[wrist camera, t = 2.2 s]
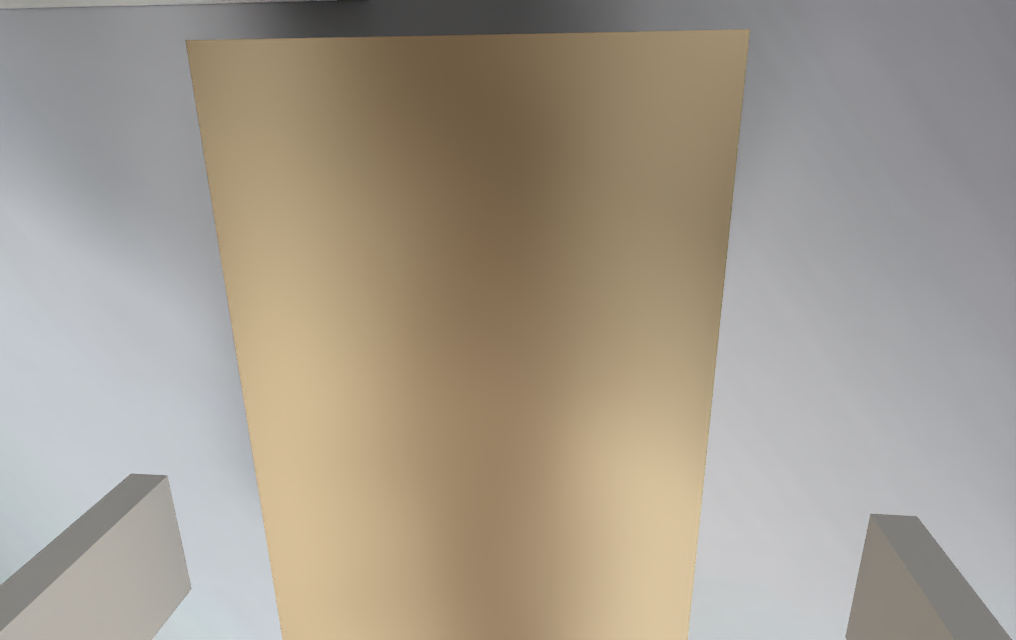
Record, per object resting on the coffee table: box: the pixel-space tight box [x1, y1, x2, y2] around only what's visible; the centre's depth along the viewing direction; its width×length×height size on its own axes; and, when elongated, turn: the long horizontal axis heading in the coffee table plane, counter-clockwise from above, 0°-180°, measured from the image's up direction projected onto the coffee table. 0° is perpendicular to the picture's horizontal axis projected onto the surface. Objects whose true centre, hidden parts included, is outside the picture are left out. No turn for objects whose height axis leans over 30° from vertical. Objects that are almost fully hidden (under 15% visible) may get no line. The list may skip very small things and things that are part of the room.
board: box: [186, 29, 750, 640], centre depth 14 cm, size 8×18×3 cm, turn 1°
